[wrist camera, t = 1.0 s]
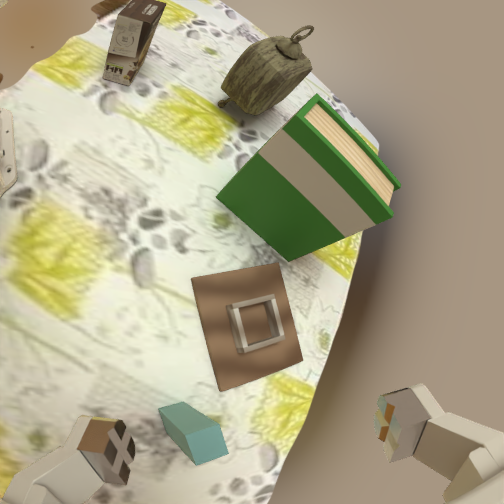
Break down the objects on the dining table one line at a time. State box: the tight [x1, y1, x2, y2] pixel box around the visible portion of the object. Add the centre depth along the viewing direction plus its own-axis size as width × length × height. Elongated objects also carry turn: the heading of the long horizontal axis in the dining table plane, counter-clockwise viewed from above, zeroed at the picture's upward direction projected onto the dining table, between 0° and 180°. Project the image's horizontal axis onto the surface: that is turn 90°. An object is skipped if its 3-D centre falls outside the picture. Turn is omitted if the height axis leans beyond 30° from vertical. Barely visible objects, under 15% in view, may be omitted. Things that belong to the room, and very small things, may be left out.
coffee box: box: [103, 0, 166, 86], centre depth 44 cm, size 9×6×16 cm
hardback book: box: [216, 93, 401, 262], centre depth 47 cm, size 18×7×24 cm, turn 57°
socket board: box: [191, 262, 303, 391], centre depth 48 cm, size 18×16×4 cm
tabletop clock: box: [218, 25, 314, 115], centre depth 52 cm, size 14×9×25 cm, turn 140°
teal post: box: [159, 402, 229, 466], centre depth 34 cm, size 4×4×14 cm
